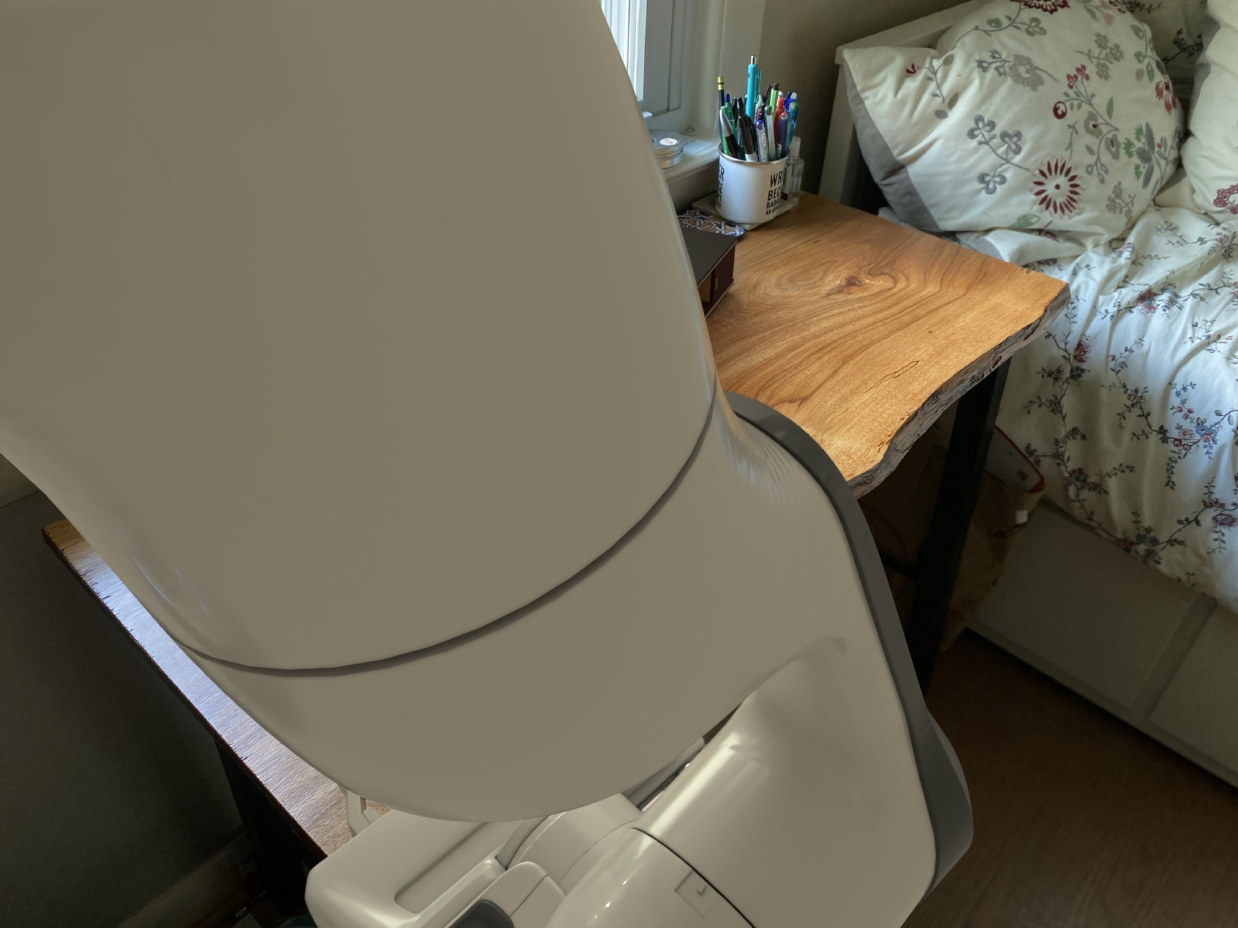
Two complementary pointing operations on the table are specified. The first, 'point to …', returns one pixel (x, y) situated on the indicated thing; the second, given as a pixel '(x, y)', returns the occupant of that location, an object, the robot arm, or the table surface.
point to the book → (710, 264)
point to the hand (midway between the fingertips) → (418, 716)
